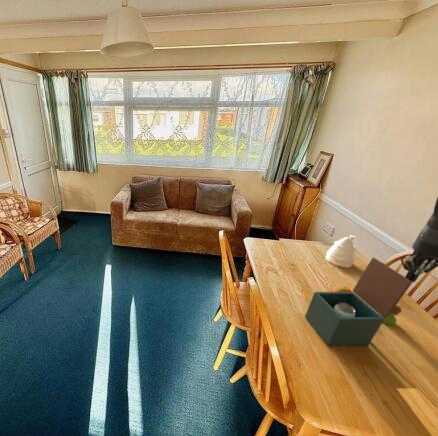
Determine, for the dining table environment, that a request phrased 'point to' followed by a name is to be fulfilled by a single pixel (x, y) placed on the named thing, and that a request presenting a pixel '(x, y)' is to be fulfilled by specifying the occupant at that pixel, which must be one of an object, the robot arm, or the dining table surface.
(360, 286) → the lid
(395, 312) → the snail figurine
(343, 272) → the dining table surface
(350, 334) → the box
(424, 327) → the dining table surface
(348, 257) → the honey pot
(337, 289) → the clementine
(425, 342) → the dining table surface
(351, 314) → the can
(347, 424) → the dining table surface
